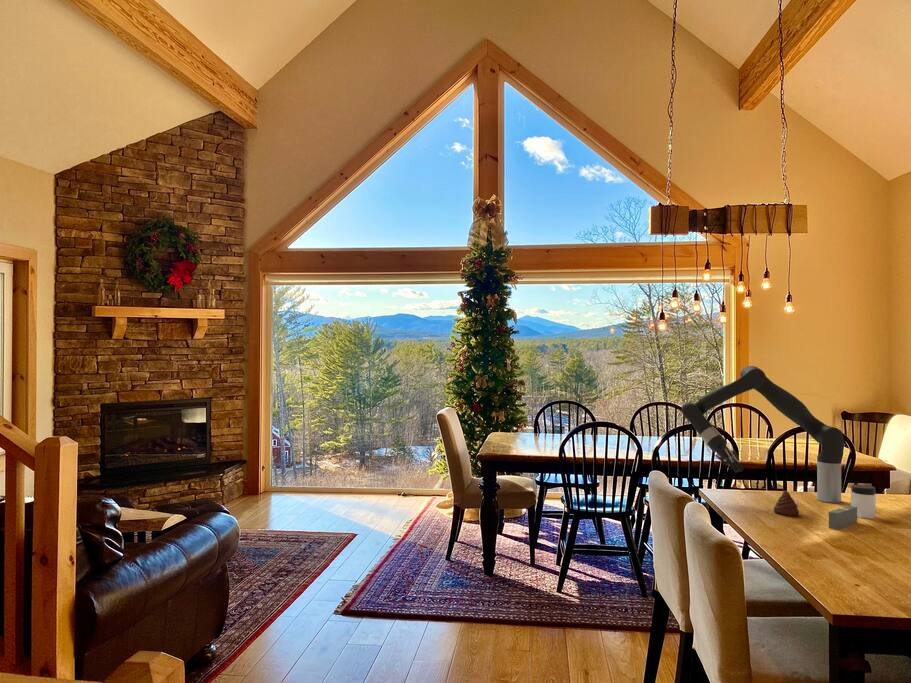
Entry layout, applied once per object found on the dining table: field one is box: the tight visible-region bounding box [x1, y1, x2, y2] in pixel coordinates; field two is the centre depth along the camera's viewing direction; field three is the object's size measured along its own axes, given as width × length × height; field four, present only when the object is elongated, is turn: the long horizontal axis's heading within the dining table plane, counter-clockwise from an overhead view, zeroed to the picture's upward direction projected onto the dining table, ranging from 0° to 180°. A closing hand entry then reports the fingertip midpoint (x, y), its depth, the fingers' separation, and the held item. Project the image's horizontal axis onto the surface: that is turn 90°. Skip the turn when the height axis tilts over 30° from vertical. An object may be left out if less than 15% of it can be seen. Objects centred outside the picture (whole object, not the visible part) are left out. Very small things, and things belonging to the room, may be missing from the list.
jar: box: [850, 484, 877, 520], centre depth 253 cm, size 9×8×12 cm
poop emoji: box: [773, 490, 800, 517], centre depth 255 cm, size 10×8×9 cm
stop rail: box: [828, 505, 858, 531], centre depth 239 cm, size 18×3×6 cm, turn 127°
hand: (739, 470), depth 271 cm, fingers closed
